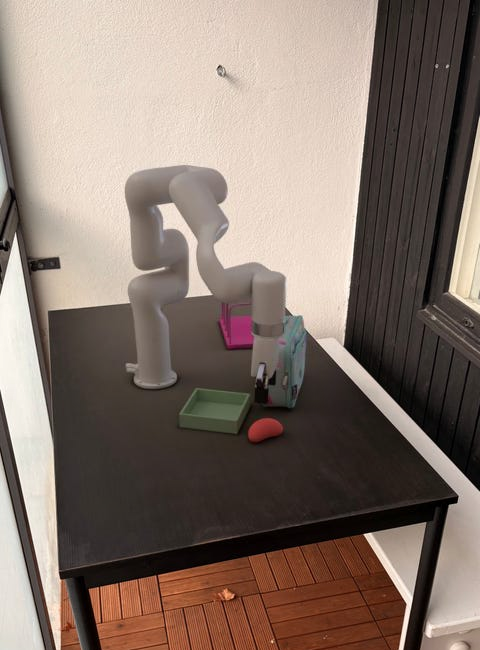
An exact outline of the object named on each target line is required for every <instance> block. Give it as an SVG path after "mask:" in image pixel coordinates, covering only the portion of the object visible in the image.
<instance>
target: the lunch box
mask: <svg viewBox="0 0 480 650" xmlns="http://www.w3.org/2000/svg"><path fill="white" fill-rule="evenodd" d="M306 349H307V329H306V327H305V321H304V317H303V315H301V314H300V315H285V324H284V335H283V336H281V337H280V338H279V357H278V363H277V367H276V384H275V385H274V386H273V385H268V387H267V388H269V393H268V404H262V406H263V407H264V408H267V407H268V408H269V407H270V408H275V407H276V408H277V407H279V408H281V407H282V408H288V409H292V408H294V407H295V405H296V402H297V399H298V396H299V393H300V390H301V387H302V385H303V381H304V374H305V367H306V366H305V364H306Z"/></svg>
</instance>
